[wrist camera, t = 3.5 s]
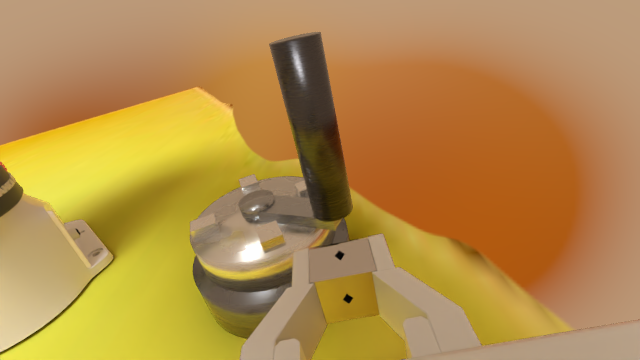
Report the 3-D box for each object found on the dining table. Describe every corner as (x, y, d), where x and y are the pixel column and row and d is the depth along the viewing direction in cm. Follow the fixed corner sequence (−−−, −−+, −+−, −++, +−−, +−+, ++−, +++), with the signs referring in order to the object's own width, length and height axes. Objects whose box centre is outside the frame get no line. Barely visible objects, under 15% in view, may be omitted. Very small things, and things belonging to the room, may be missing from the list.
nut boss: (191, 275, 34) (171, 237, 31) (309, 207, 40) (300, 172, 38) (245, 377, 23) (221, 332, 21) (394, 263, 30) (388, 219, 27)
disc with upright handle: (174, 276, 28) (66, 88, 20) (253, 197, 37) (200, 47, 29) (330, 315, 21) (259, 59, 13) (379, 207, 30) (353, 18, 23)
